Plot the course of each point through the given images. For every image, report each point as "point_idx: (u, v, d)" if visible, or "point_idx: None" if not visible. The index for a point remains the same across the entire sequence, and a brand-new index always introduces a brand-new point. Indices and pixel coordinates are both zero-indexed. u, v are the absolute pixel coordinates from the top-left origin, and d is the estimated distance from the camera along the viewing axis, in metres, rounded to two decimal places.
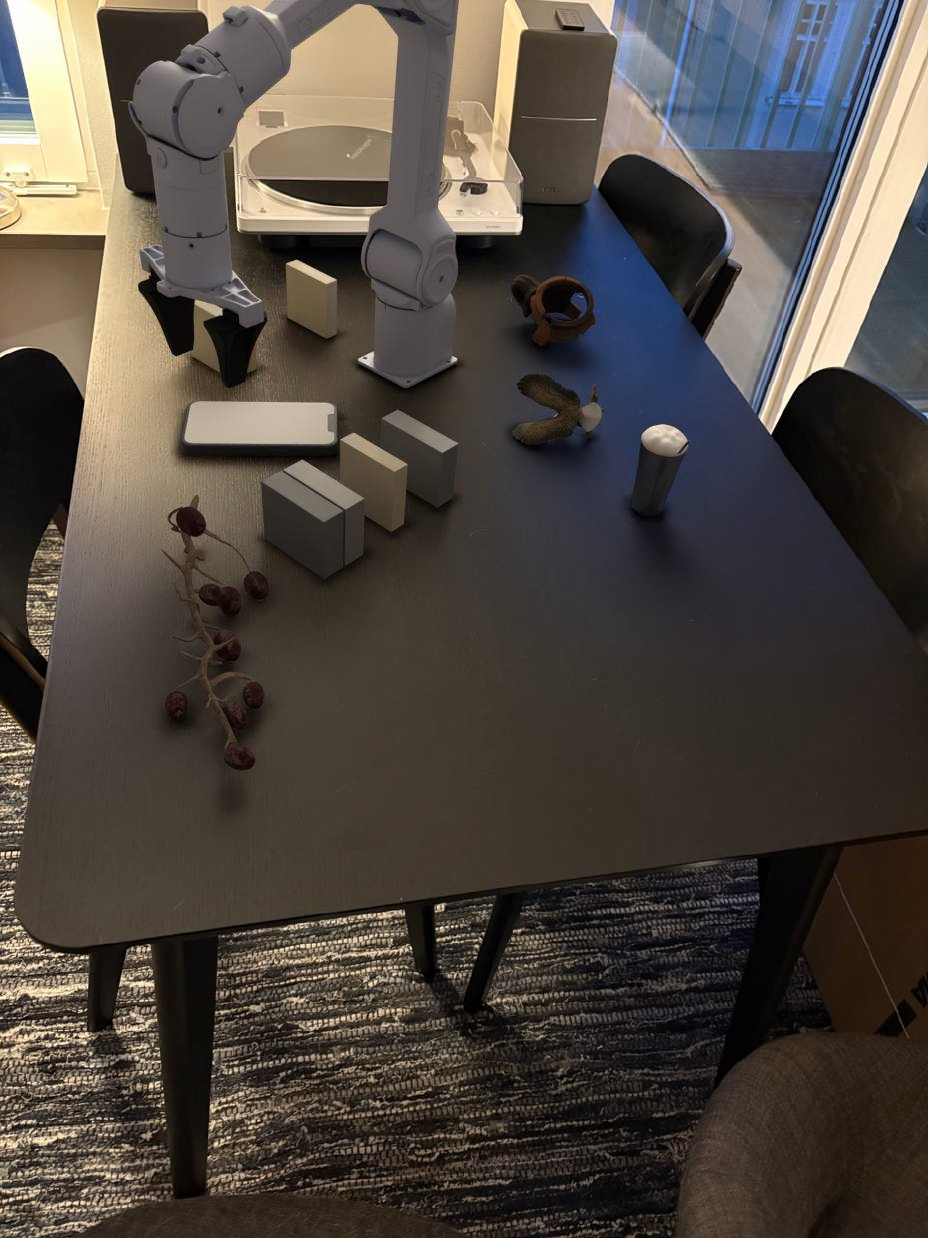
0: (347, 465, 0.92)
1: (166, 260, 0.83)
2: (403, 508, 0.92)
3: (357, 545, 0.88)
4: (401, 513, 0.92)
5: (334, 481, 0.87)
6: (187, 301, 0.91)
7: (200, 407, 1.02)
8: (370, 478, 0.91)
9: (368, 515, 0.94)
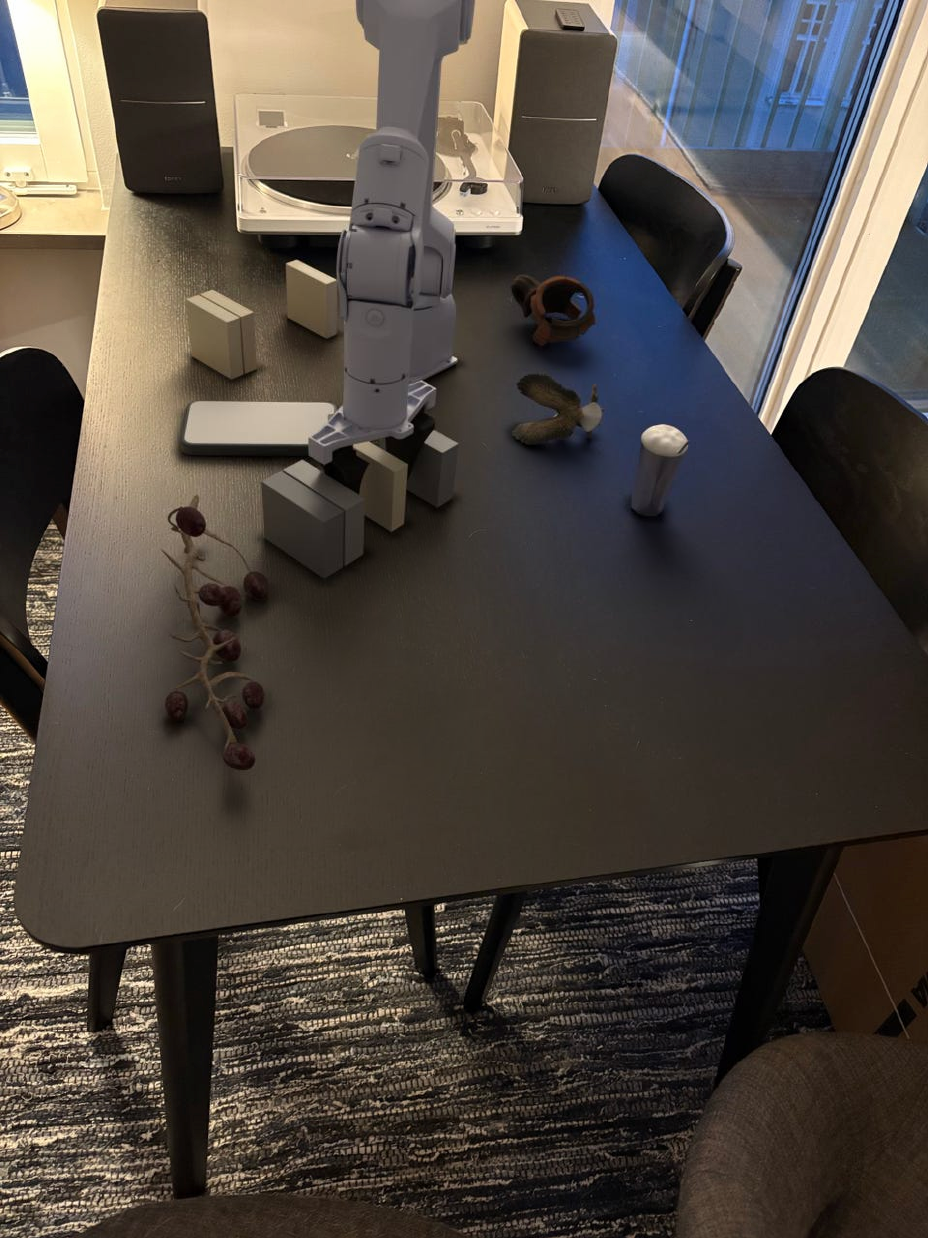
0: None
1: (393, 409, 0.84)
2: (403, 508, 0.92)
3: (357, 545, 0.88)
4: (401, 513, 0.92)
5: (334, 481, 0.87)
6: None
7: (200, 407, 1.02)
8: (370, 478, 0.91)
9: (368, 515, 0.94)
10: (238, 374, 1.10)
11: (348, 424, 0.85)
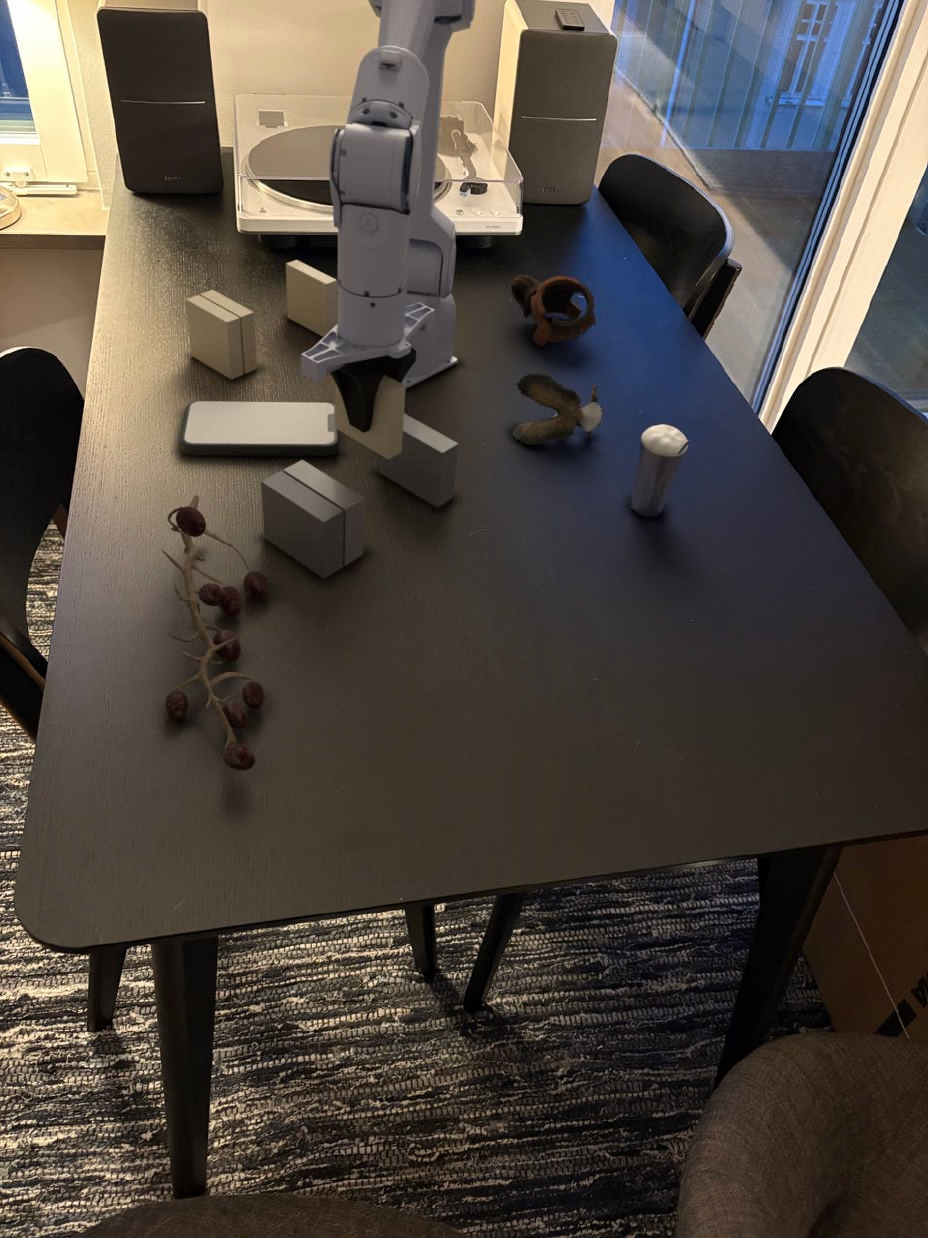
0: None
1: (389, 326, 0.80)
2: (401, 434, 0.88)
3: (357, 545, 0.88)
4: (399, 440, 0.89)
5: (334, 481, 0.87)
6: None
7: (200, 407, 1.02)
8: None
9: (364, 443, 0.90)
10: (238, 374, 1.10)
11: (342, 342, 0.81)
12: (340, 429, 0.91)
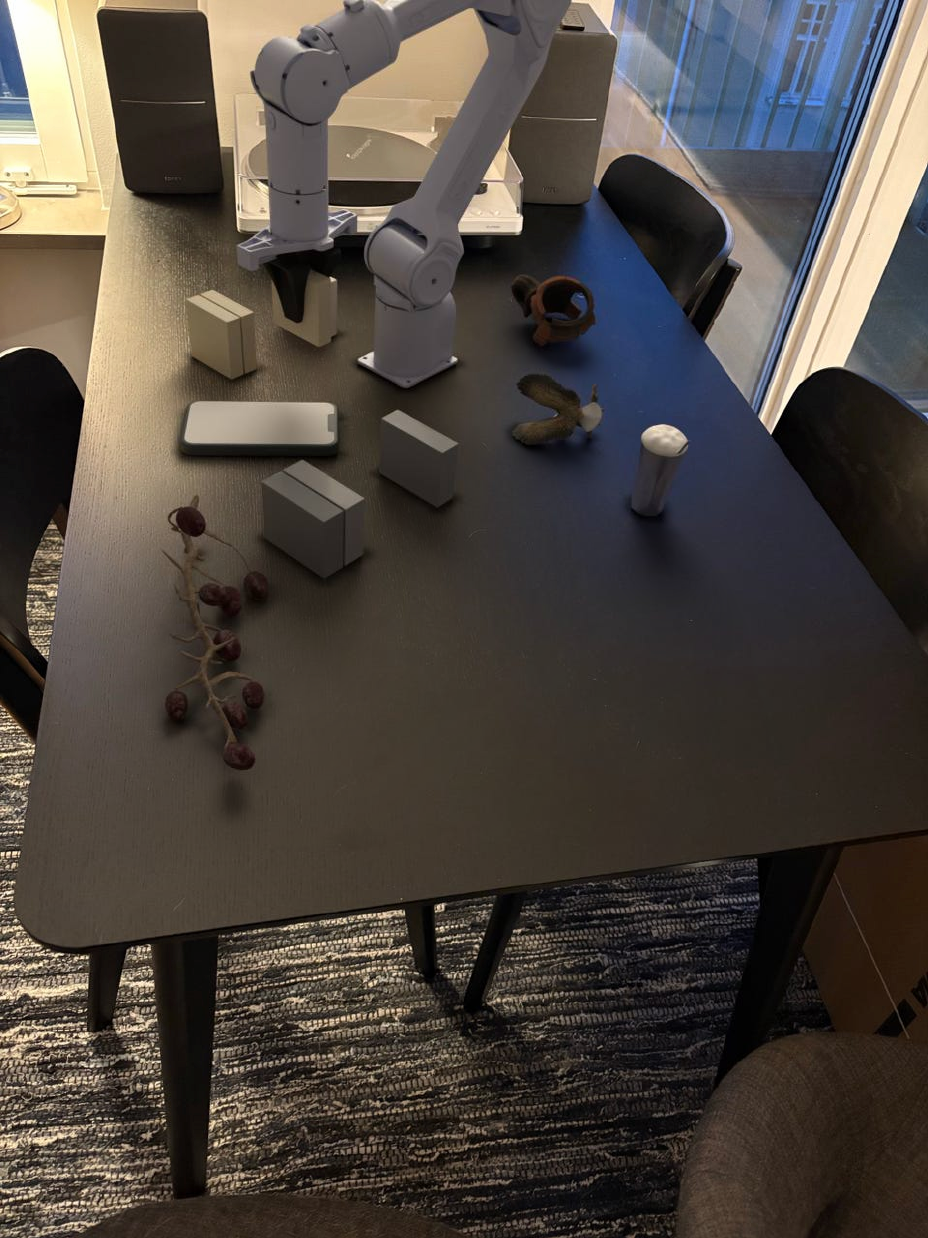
0: None
1: (313, 222, 0.93)
2: (329, 324, 1.01)
3: (357, 545, 0.88)
4: (327, 329, 1.01)
5: (334, 481, 0.87)
6: None
7: (200, 407, 1.02)
8: None
9: (298, 334, 1.03)
10: (238, 374, 1.10)
11: (274, 237, 0.94)
12: (277, 323, 1.04)
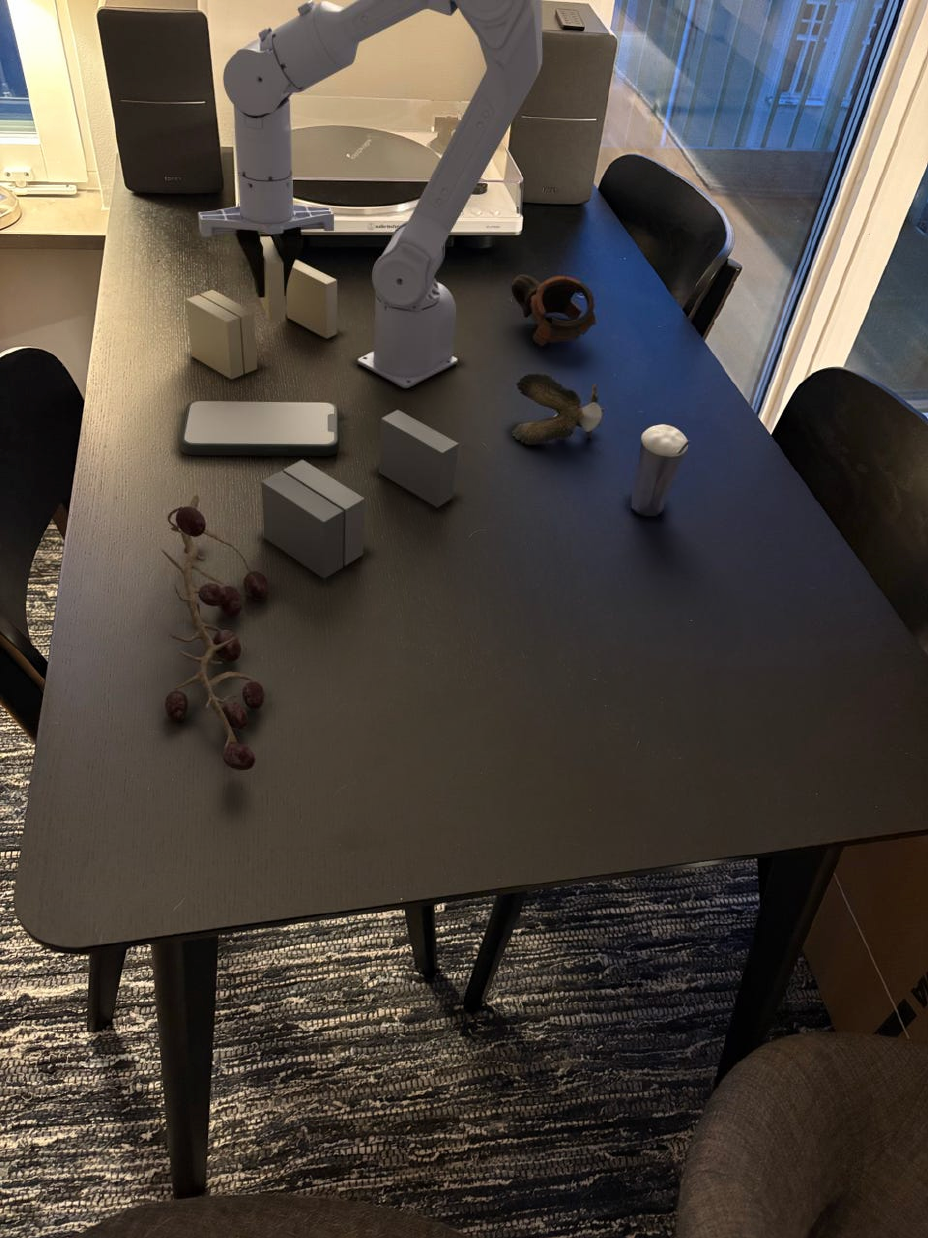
0: None
1: (265, 206, 1.03)
2: (282, 305, 1.10)
3: (357, 545, 0.88)
4: (280, 309, 1.10)
5: (334, 481, 0.87)
6: None
7: (200, 406, 1.02)
8: None
9: (264, 308, 1.13)
10: (238, 374, 1.10)
11: (236, 213, 1.05)
12: None
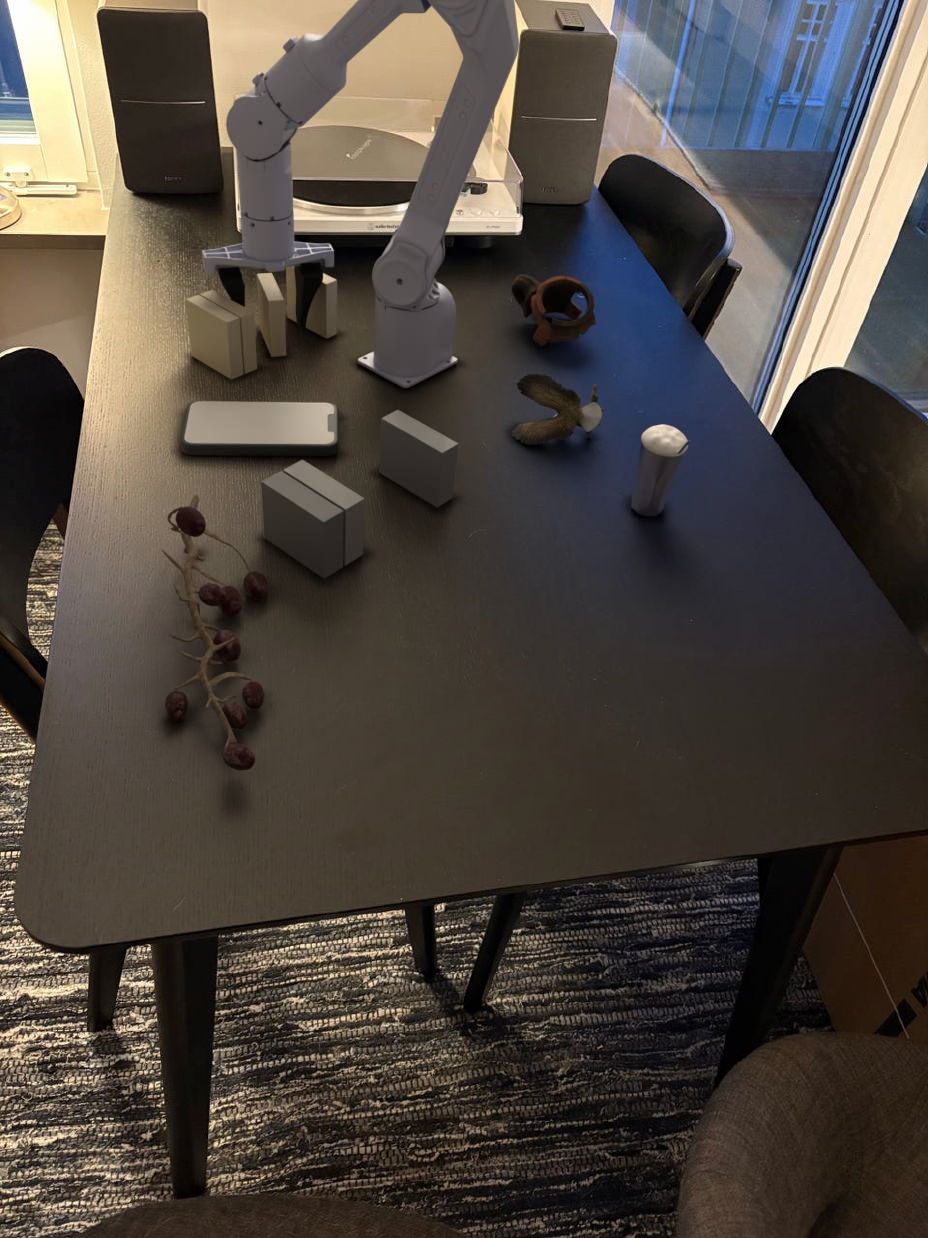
0: (259, 297, 1.15)
1: (266, 245, 1.05)
2: (283, 340, 1.13)
3: (357, 545, 0.88)
4: (281, 344, 1.13)
5: (334, 481, 0.87)
6: None
7: (200, 407, 1.02)
8: (264, 307, 1.12)
9: (265, 342, 1.16)
10: (238, 374, 1.10)
11: (239, 251, 1.08)
12: None
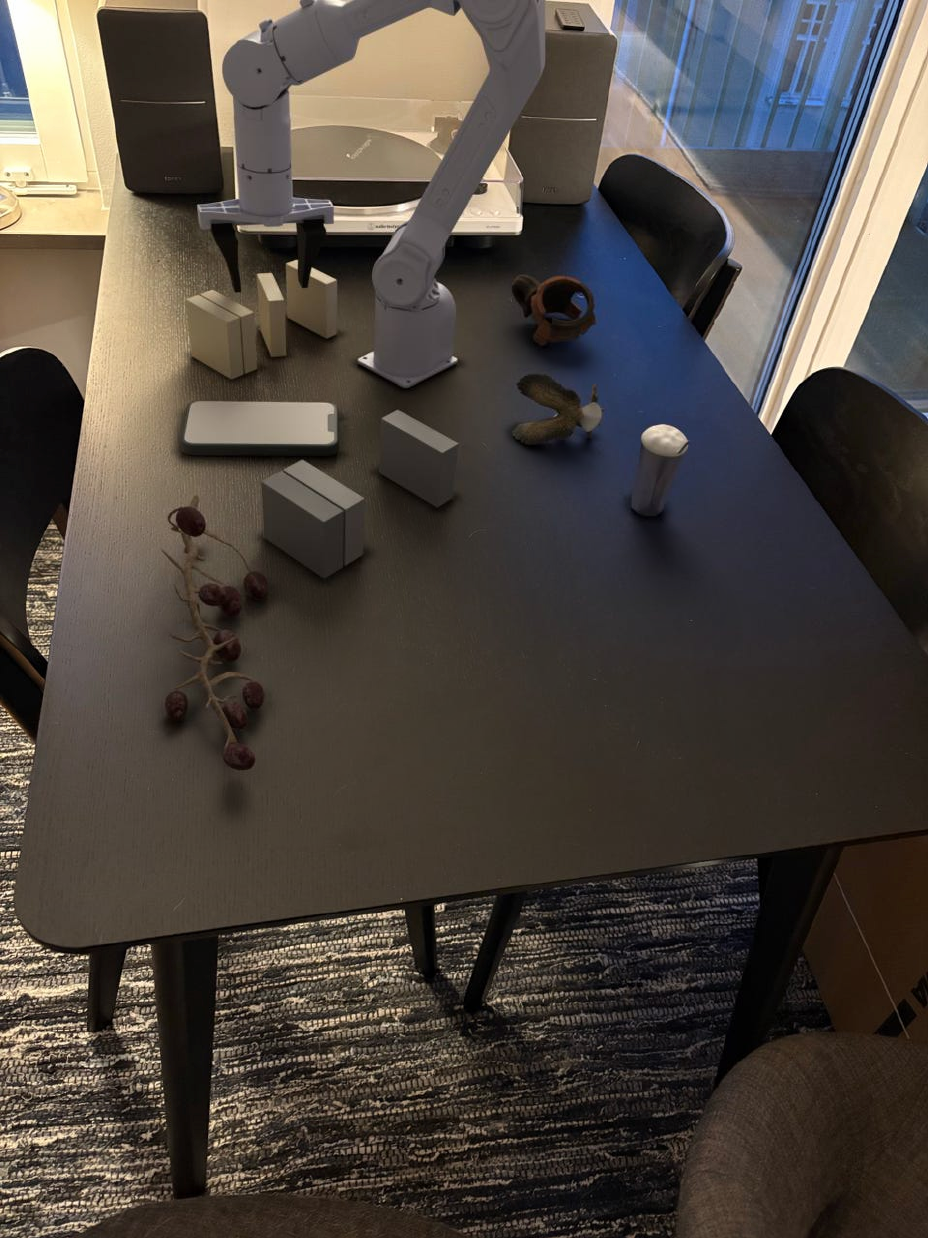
0: (259, 297, 1.15)
1: (264, 199, 1.02)
2: (283, 340, 1.13)
3: (357, 545, 0.88)
4: (281, 344, 1.13)
5: (334, 481, 0.87)
6: None
7: (200, 406, 1.02)
8: (264, 307, 1.12)
9: (265, 342, 1.16)
10: (238, 374, 1.10)
11: (236, 206, 1.04)
12: None
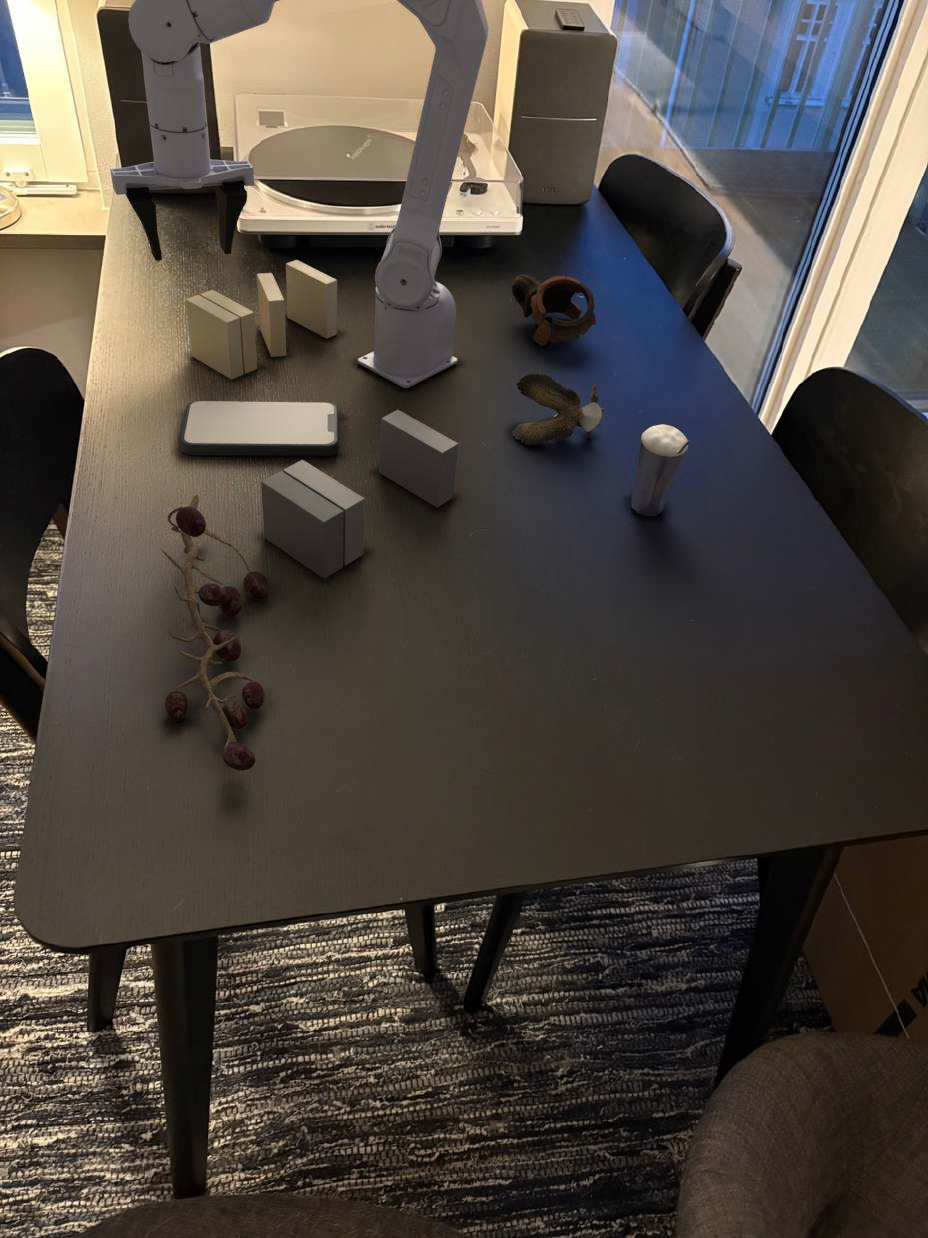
0: (259, 297, 1.15)
1: (180, 160, 0.99)
2: (283, 340, 1.13)
3: (357, 545, 0.88)
4: (281, 344, 1.13)
5: (334, 481, 0.87)
6: None
7: (200, 406, 1.02)
8: (264, 307, 1.12)
9: (265, 342, 1.16)
10: (238, 374, 1.10)
11: (151, 169, 1.01)
12: None
